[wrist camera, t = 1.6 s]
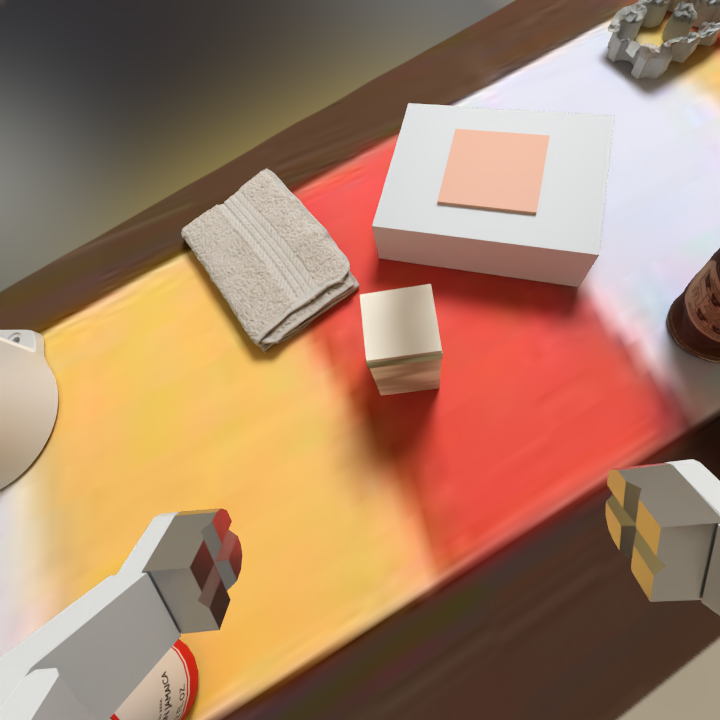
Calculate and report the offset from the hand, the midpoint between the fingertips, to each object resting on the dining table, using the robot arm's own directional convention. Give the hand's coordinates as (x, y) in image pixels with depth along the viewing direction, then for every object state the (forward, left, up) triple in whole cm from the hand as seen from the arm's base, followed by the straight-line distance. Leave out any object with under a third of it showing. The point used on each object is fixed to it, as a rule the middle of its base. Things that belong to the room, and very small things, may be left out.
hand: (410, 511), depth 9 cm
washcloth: (-20, +20, -27) cm, 39 cm away
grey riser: (0, +29, -26) cm, 39 cm away
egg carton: (+14, +52, -26) cm, 60 cm away
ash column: (-4, +12, -26) cm, 29 cm away
